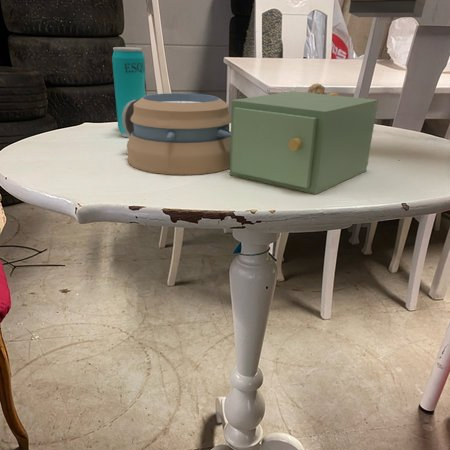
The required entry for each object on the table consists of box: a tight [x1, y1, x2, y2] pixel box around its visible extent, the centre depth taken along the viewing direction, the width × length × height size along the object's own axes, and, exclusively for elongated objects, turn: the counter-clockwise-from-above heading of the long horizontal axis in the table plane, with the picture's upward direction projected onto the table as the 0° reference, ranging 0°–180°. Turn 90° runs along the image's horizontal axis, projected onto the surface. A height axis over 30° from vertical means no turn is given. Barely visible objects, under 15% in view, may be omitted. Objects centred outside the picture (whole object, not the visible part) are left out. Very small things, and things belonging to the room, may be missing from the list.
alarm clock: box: [122, 92, 231, 176], centre depth 74 cm, size 17×9×23 cm
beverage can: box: [111, 46, 148, 139], centre depth 87 cm, size 6×6×15 cm
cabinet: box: [229, 91, 379, 195], centre depth 66 cm, size 14×18×10 cm
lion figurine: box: [306, 82, 341, 96], centre depth 102 cm, size 15×5×9 cm, turn 144°
